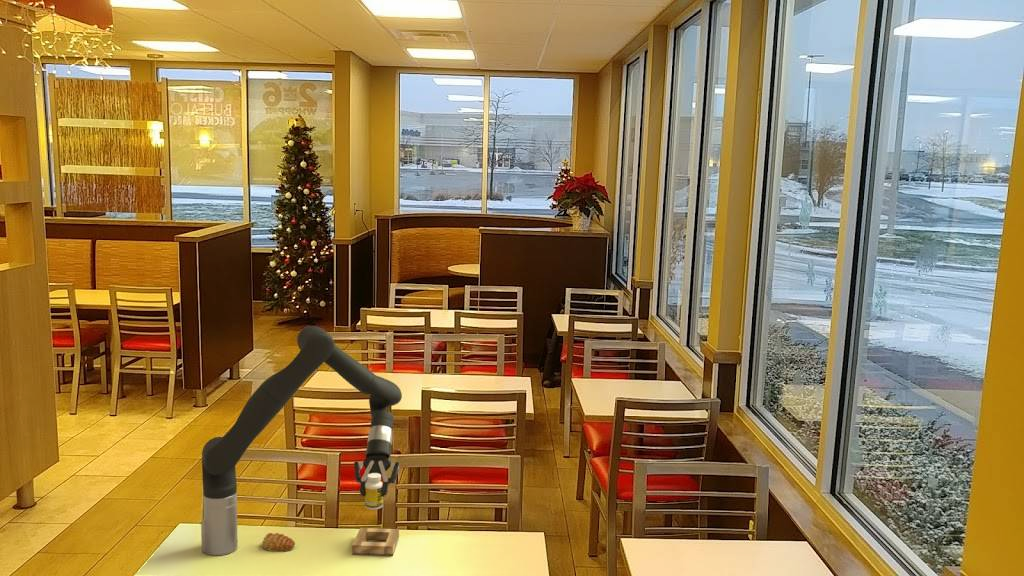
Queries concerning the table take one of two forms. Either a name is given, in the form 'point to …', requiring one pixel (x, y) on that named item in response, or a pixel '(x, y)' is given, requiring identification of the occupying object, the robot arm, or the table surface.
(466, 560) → the table surface
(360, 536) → the can holder
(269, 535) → the pastry
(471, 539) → the table surface
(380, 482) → the supplement bottle
